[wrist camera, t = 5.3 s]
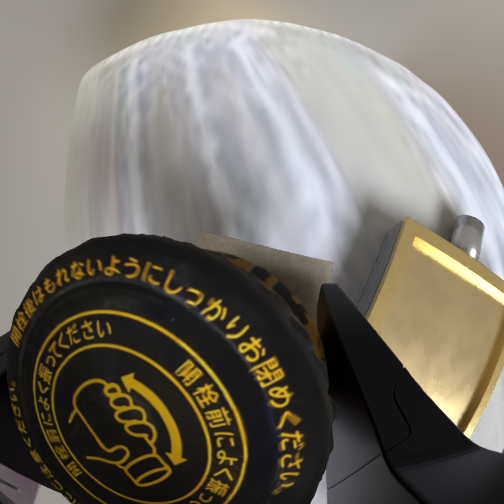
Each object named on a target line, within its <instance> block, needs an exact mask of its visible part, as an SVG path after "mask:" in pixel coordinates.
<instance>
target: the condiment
mask: <svg viewBox="0 0 504 504" xmlns="http://www.w3.org/2000/svg"><path fill="white" fill-rule="evenodd" d="M332 268H333V262H329V261H325V260H321V259H315V258H311V257H307V256H303V255H299V254H295V253H290V252H286V251H282V250H277V249H273V248H269V247H265V246H261V245H255V244H252V243H249V242H245V241H240V240H237V239H233V238H228V237H224V236H220V235H217V234H212V233H208V232H204V231H200V233H199V236H198V240H197V242H196V246H195V245H193V244H191V243H187V242H179V241H175V240H173V239H171V238H167V237H165V236H163V237H160V236H156V235H145V234H138V235H136V234H120V235H116V236H107V237H97V238H92V239H90V240H88V241H86V242H84V243H82V244H81V245H79V246H77V247H76V248H74V249H71V250H69V251H67V252H65V253H63V254H62V255H60V256H58V257H56V258H55V259H53V260H52V261H51V262H50V263H49V264H47V265H46V266H45V268H44V269H43V270H42V271H41V272H40V274H39V276H38V277H37V279H36V280H35V282H34V283H32V285H31V286H30V288H29V290H28V292H27V293H26V295H25V297H24V299H23V301H22V302H21V304H20V306H19V308H18V309H17V310H16V312H15V315H14V317H13V322H12V327H11V330H10V333H9V339H8V344H7V349H6V354H7V382H8V388H9V396H10V400H11V406H12V409H13V413H14V416H15V420H16V423H17V426H18V429H19V430H20V432H21V435H22V439H23V440H24V442H25V443H26V445H27V447H28V449H29V451H30V453H31V455H32V457H33V459H34V460H35V461H36V463H37V464H38V465H39V467H40V469H41V471H42V472H43V474H44V475H45V476H46V477H47V478H48V479H49V481H50V482H51V484H52V485H53V486H54V487H55V488H56V489H57V490H58V491H59V492H60V493H61V494H62V495H63V496H64V497H65V498H66V499H67V500H68V501H70V503H71V504H310V503H311V501H312V499H313V497H314V496H315V493H316V490H317V487H318V484H319V482H320V481H321V479H322V476H323V474H324V472H325V470H326V466H327V463H328V460H329V455H330V454H331V452H332V450H333V448H334V440H333V429H332V423H333V421H334V420H335V419H336V418H337V414H338V406H337V404H336V403H335V401H334V400H333V399H332V398H331V397H330V396H329V395H328V386H329V382H328V371H327V362H326V357H325V352H324V348H323V345H322V342H321V338H320V336H319V333H318V330H317V303H318V298H319V293H320V288H321V285H322V283H329V282H330V278H331V273H332Z"/></svg>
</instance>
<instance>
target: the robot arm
mask: <svg viewBox="0 0 504 504" xmlns="http://www.w3.org/2000/svg"><path fill="white" fill-rule="evenodd" d="M317 330H318V333H319V336H320V338H321V342H322V345H323V348H324V352H325V357H326V362H327V371H328V382H329V386H328V395H329V396H330V397H331V398H332V399H333V400H334V401H335V403H336V404H337V406H338V414H337V418H336V419H335V420H334V421H333V423H332V429H333V440H334V448H333V450H332V452H331V454H330V455H329V460H328V463H327V466H326V480H327V504H504V454H503V453H499V452H495V451H492V450H488V449H485V448H483V447H481V446H479V445H477V444H475V443H474V442H472V441H471V440H470V439H469V438H468V437H467V436H466V435H465V434H464V433H463V432H462V431H461V430H460V429H459V428H458V427H457V426H456V425H455V424H454V423H453V422H452V420H451V419H450V418H449V417H448V416H447V415H446V414H445V413H444V412H443V411H442V410H441V409H440V408H439V407H438V406H437V404H436V403H435V402H434V401H433V400H432V399H431V398H430V397H429V396H428V394H427V393H426V392H425V391H424V390H423V389H422V387H421V386H420V385H419V384H418V383H417V381H416V380H415V379H414V378H413V376H412V375H411V374H410V373H409V371H408V370H407V369H406V368H405V367H403V364H402V363H401V361H400V360H399V359H398V357H397V356H396V355H395V354H394V352H393V351H392V350H391V349H390V347H389V346H388V345H387V344H386V342H385V341H384V340H383V339H382V338H381V336H380V335H379V334H378V333H377V331H376V330H375V329H374V328H373V327H372V325H371V324H370V323H369V322H368V321H367V319H366V318H365V317H364V316H363V314H362V313H361V312H360V311H359V310H358V309H357V307H356V306H355V305H354V304H353V303H352V301H351V300H350V299H349V298H348V297H347V296H346V294H345V293H344V292H343V291H342V290H341V288H340V287H339V286H338V285H337V284H335V283H322V285H321V288H320V293H319V298H318V303H317ZM9 333H10V331H9V332H7V333H6V334H4V335H2V336H1V337H0V504H35V501H36V498H37V495H38V492H39V488H40V486H41V485H43V486H46V487H47V488H50V489H52V490H54V491H57V492H59V491H58V490H57V489H56V488H55V487H54V486H53V485H52V484H51V482H50V481H49V479H48V478H47V477H46V476H45V475H44V474H43V472H42V471H41V469H40V467H39V465H38V464H37V463H36V461H35V460H34V459H33V457H32V455H31V453H30V451H29V449H28V447H27V445H26V443H25V442H24V440H23V439H22V435H21V432H20V430H19V429H18V426H17V423H16V420H15V416H14V413H13V409H12V406H11V400H10V396H9V388H8V382H7V354H6V349H7V344H8V339H9ZM59 493H60V492H59Z"/></svg>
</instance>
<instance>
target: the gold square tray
mask: <svg viewBox="0 0 504 504" xmlns="http://www.w3.org/2000/svg"><path fill="white" fill-rule="evenodd" d="M484 229H485V227H484V225H483V223H482V222H481V221H480V220H479V219H477V218H475V217H472V216H468V215H461V216H458V217H457V218H456V220H455V224H454V229H453V233H452V237H451V241H450V242H448V241H447V240H445V239H443V238H442V237H440V236H439V235H437V234H436V233H434V232H432V231H431V230H429V229H427V228H426V227H424V226H422V225H421V224H419V223H417V222H416V221H414V220H412V219H411V218H409V217H407V218H406V219H404V220H403V221H402V222H400V223H399V224H398V225H396V226H395V227H393V228H392V229H391V230H389V231H388V232H387V235H386V238H385V240H384V243H383V246H382V248H381V251H380V253H379V256H378V259H377V261H376V264H375V266H374V268H373V271H372V273H371V276H370V278H369V280H368V283H367V285H366V287H365V290H364V292H363V294H362V296H361V299H360V301H359V303H358V305H357V309H358V310H359V311H360V312H361V313H362V314H363V316H364V317H365V318H366V319H367V321H368V322H369V323H370V324H371V325H372V327H373V328H374V329H375V330H376V331H377V333H378V334H379V335H380V336H381V338H382V339H383V340H384V341H385V342H386V344H387V345H388V346H389V347H390V349H391V350H392V351H393V352H394V354H395V355H396V356H397V357H398V359H399V360H400V361H401V363H402V364H403V367H405V368H406V369H407V370H408V371H409V373H410V374H411V375H412V376H413V378H414V379H415V380H416V381H417V383H418V384H419V385H420V386H421V387H422V389H423V390H424V391H425V392H426V393H427V394H428V396H429V397H430V398H431V399H432V400H433V401H434V402H435V403H436V404H437V406H438V407H439V408H440V409H441V410H442V411H443V412H444V413H445V414H446V415H447V416H448V417H449V418H450V419H451V420H452V422H453V423H454V424H455V425H456V426H457V427H458V428H459V429H460V430H461V431H462V432H463V433H464V434H465V435H466V436H467V437H468V438H469V437H470V435H471V433H472V432H473V430H474V428H475V426H476V424H477V423H478V421H479V419H480V417H481V415H482V413H483V411H484V409H485V407H486V405H487V403H488V401H489V399H490V397H491V394H492V392H493V390H494V388H495V385H496V383H497V381H498V378H499V376H500V374H501V371H502V368H503V366H504V280H502V279H501V278H500V277H498V276H497V275H496V274H494V273H493V272H492V271H490V270H489V269H488V268H486V267H485V266H483V265H482V264H481V263H479V262H478V259H479V254H480V250H481V245H482V240H483V234H484Z"/></svg>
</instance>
